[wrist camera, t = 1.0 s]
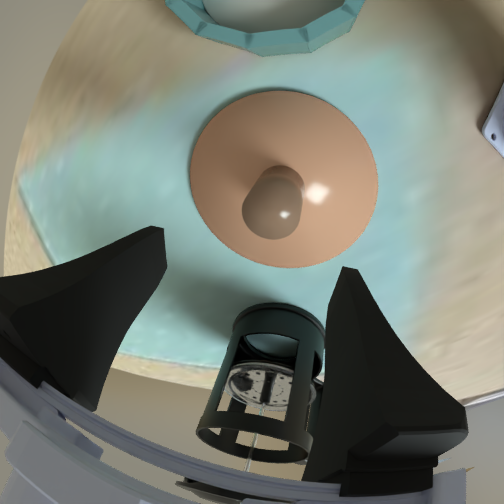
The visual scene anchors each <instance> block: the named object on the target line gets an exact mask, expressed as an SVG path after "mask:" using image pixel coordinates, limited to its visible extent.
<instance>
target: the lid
mask: <svg viewBox="0 0 504 504" xmlns="http://www.w3.org/2000/svg"><path fill="white" fill-rule="evenodd" d="M190 183H191V189H192V194H193V198H194V201H195V204H196V207H197V209H198V211H199V213H200V215H201V217H202V219H203V220H204V222H205V224H206V225H207V226H208V228H209V229H210V230H211V232H212V233H213V234H214V235H215V236H216V237H217V238H218V239H219V240H220V241H221V242H222V243H224V244H225V245H226V246H227V247H228V248H230V249H231V250H233V251H234V252H236V253H237V254H239V255H241V256H243V257H245V258H247V259H249V260H252V261H254V262H257V263H260V264H264V265H268V266H273V267H280V268H300V267H307V266H312V265H316V264H319V263H322V262H325V261H327V260H330V259H332V258H333V257H335V256H337V255H339V254H341V253H342V252H343V251H345V250H346V249H347V248H349V247H350V246H351V245H352V244H353V243H354V242H355V241H356V240H357V239H358V238H359V237H360V235H361V234H362V233H363V232H364V230H365V228H366V227H367V225H368V223H369V221H370V219H371V217H372V214H373V212H374V209H375V205H376V201H377V194H378V174H377V169H376V163H375V160H374V157H373V154H372V151H371V149H370V147H369V145H368V143H367V141H366V139H365V138H364V136H363V135H362V133H361V132H360V131H359V129H358V128H357V127H356V126H355V125H354V124H353V122H352V121H351V120H350V119H349V118H348V117H347V116H345V115H344V114H343V113H342V112H341V111H339V110H338V109H337V108H335V107H333V106H332V105H330V104H328V103H327V102H325V101H323V100H320V99H318V98H316V97H313V96H310V95H307V94H303V93H299V92H291V91H267V92H261V93H256V94H253V95H249V96H246V97H243V98H241V99H239V100H237V101H235V102H233V103H231V104H230V105H228V106H227V107H225V108H224V109H222V110H221V111H220V112H219V113H218V114H217V115H216V116H215V117H213V118H212V119H211V121H210V122H209V123H208V124H207V126H206V127H205V128H204V130H203V131H202V133H201V135H200V137H199V138H198V141H197V143H196V146H195V148H194V151H193V155H192V159H191V167H190Z"/></svg>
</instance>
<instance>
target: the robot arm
mask: <svg viewBox="0 0 504 504" xmlns="http://www.w3.org/2000/svg"><path fill="white" fill-rule="evenodd" d="M482 134H483V136H484V137H485V138H486V139H487V140H488V141H489V142H490V143H491V145H492V146H493V147H494V148H495V149H496V150H497V151H498V152H499V153H500V154H501V156H502V157H503V158H504V83H503V85H502V87H501V90H500V92H499V94H498V96H497V99H496V101H495V103H494V105H493V107H492V109H491V111H490V113H489V115H488V117H487V119H486V121H485V123H484V125H483V127H482ZM492 134H493V135H494V137H493V139H491V135H492ZM166 269H167V260H166V250H165V240H164V228H160V227H155V226H149V227H146V228H143V229H141V230H139V231H136V232H134V233H132V234H130V235H128V236H126V237H124V238H121V239H119V240H117V241H115V242H113V243H111V244H109V245H107V246H105V247H102V248H100V249H98V250H96V251H93V252H91V253H89V254H87V255H84V256H82V257H79V258H77V259H74V260H71V261H69V262H66V263H63V264H60V265H56V266H53V267H50V268H46V269H43V270H39V271H35V272H30V273H25V274H20V275H13V276H5V277H0V429H1V431H2V432H3V433H4V434H5V436H6V437H7V438H8V439H9V440H10V442H9V444H8V445H7V447H6V449H5V457H6V459H7V461H8V462H9V464H11V466H12V467H13V470H12V472H11V475H10V477H9V479H8V481H7V483H6V485H5V487H4V490H3V492H2V494H1V496H0V504H200V503H197V502H193V501H191V500H187V499H184V498H182V497H179V496H176V495H173V494H171V493H168V492H165V491H163V490H160V489H158V488H155V487H153V486H151V485H148V484H146V483H144V482H141V481H139V480H137V479H135V478H133V477H131V476H129V475H127V474H125V473H123V472H121V471H119V470H117V469H115V468H113V467H111V466H109V465H107V464H106V463H104V462H102V461H100V457H101V455H102V453H103V449H102V448H101V447H99V446H98V445H96V444H95V443H93V442H92V441H91V440H89V439H88V438H87V437H85V436H84V435H83V434H82V433H81V432H80V431H78V430H77V429H75V428H74V427H73V426H71V425H70V424H68V423H67V422H66V419H65V417H66V418H67V419H69V420H70V421H72V422H73V423H75V424H76V425H78V426H80V427H81V428H83V429H84V430H86V431H88V432H89V433H91V434H93V435H94V436H96V437H98V438H100V439H102V440H103V441H105V442H107V443H109V444H110V445H112V446H114V447H116V448H118V449H120V450H122V451H124V452H126V453H128V454H130V455H133V456H134V457H137V458H139V459H141V460H143V461H146V462H148V463H150V464H153V465H155V466H157V467H160V468H162V469H165V470H167V471H170V472H173V473H176V474H178V475H181V476H184V477H187V478H190V479H193V480H196V481H199V482H202V483H206V484H209V485H213V486H216V487H220V488H224V489H228V490H232V491H236V492H240V493H245V494H250V495H255V496H260V497H266V498H272V499H279V500H287V501H296V502H293V503H291V504H466V469H465V468H462V469H457V470H452V471H447V472H442V473H438V474H435V475H433V468H434V467H437V465H438V456H439V455H441V454H443V453H445V452H447V451H448V450H450V449H452V448H454V447H455V446H457V445H458V444H460V443H461V442H462V441H463V440H464V439H465V438H466V437H467V435H468V424H467V417H466V411H465V407H464V406H462V405H461V404H460V403H459V402H458V401H457V400H455V399H454V398H453V397H452V396H451V395H450V394H448V393H447V392H446V391H445V390H444V389H443V388H442V387H441V386H440V385H439V384H438V383H437V382H436V381H435V380H434V379H433V378H432V377H431V376H430V375H429V374H428V373H427V372H426V371H425V370H424V369H423V368H422V366H421V365H420V364H419V363H418V362H417V361H416V360H415V358H414V357H413V356H412V355H411V354H410V352H409V351H408V350H407V348H406V347H405V346H404V344H403V343H402V342H401V340H400V339H399V338H398V336H397V335H396V333H395V332H394V331H393V329H392V328H391V326H390V324H389V323H388V321H387V320H386V318H385V317H384V315H383V313H382V312H381V310H380V308H379V307H378V305H377V303H376V302H375V300H374V298H373V296H372V295H371V293H370V291H369V289H368V287H367V285H366V284H365V282H364V280H363V278H362V276H361V274H360V273H359V271H358V270H357V269H353V268H348V267H344V266H342V269H341V272H340V275H339V278H338V280H337V283H336V286H335V289H334V291H333V294H332V296H331V299H330V302H329V304H328V311H327V319H326V327H325V376H324V387H323V393H322V399H321V405H320V411H319V416H318V421H317V425H316V430H315V434H314V438H313V442H312V446H311V450H310V454H309V457H308V461H307V464H306V467H305V471H304V474H303V477H302V480H301V481H297V480H289V479H282V478H276V477H270V476H264V475H259V474H254V473H249V472H245V471H240V470H236V469H232V468H228V467H224V466H221V465H217V464H213V463H210V462H207V461H203V460H200V459H197V458H194V457H191V456H188V455H185V454H182V453H179V452H176V451H174V450H171V449H169V448H166V447H163V446H161V445H158V444H156V443H154V442H151V441H149V440H146V439H144V438H142V437H140V436H137V435H135V434H133V433H131V432H129V431H126V430H125V429H123V428H121V427H118V426H116V425H115V424H113V423H111V422H109V421H107V420H105V419H103V418H101V417H100V416H98V415H96V414H94V413H92V412H93V411H96V409H97V405H98V402H99V398H100V395H101V392H102V388H103V385H104V382H105V380H106V377H107V374H108V372H109V369H110V367H111V364H112V362H113V360H114V357H115V355H116V353H117V351H118V349H119V347H120V345H121V342H122V340H123V339H124V337H125V335H126V333H127V331H128V329H129V328H130V326H131V324H132V323H133V321H134V320H135V318H136V317H137V316H138V314H139V313H140V311H141V310H142V308H143V307H144V305H145V304H146V303H147V301H148V300H149V298H150V297H151V295H152V294H153V293H154V291H155V290H156V288H157V287H158V285H159V283H160V281H161V279H162V277H163V275H164V273H165V271H166ZM240 504H290V503H282V502H272V501H263V500H256V499H249V498H246V499H244V500H243V502H241V503H240Z"/></svg>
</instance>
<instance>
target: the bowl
mask: <svg viewBox="0 0 504 504" xmlns="http://www.w3.org/2000/svg"><path fill="white" fill-rule="evenodd" d="M165 2H166V4H165V5H166V6H168V7H169V8H170V9H171V10H172V11H173V12H174V13H175V14H176V15H177V16H178V17H179V18H180V19H181V20H182V21H183V22H184V23H185V24H186V25H187V26H188V27H189V28H190V29H191V30H192V31H193V32H194V33H195V34H196V35H198V36H201V37H204V38H207V39H210V40H213V41H215V42H218V43H221V44H225V45H229V46H232V47H236V48H239V49H242V50H245V51H248V52H251V53H254V54H257V55H260V56H262V57H266V56H275V55H285V54H298V53H312V52H313V51H315V50H316V49H318V48H320V47H322V46H323V45H325V44H327V43H329V42H330V41H332V40H334V39H336V38H338V37H340V36H342V35H343V34H345V33H347V32H349V31H350V30H351V28H352V26H353V24H354V22H355V20H356V18H357V15H358V13H359V11H360V9H361V7H362V5H363V3H364V2H365V0H165Z"/></svg>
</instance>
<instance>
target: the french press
mask: <svg viewBox="0 0 504 504" xmlns="http://www.w3.org/2000/svg"><path fill="white" fill-rule="evenodd" d="M252 334H275V335H281V336H285V337H289V338H292V339H295V340H297V341H298V348H297V354H296V358H290V359H280V358H274V357H270V356H267V355H264V354H262V353H260V352H258V351H257V350H255V349H254V348H253V347H252V346H251V345H250V344H249V342H248V341H247V339H246V336H247V335H252ZM324 349H325V329H324V327H323V325H322V324H321V323H320V321H319V320H318V319H317V318H315V317H314V316H313V315H312V314H310V313H308V312H307V311H305V310H303V309H300V308H298V307H295V306H291V305H287V304H280V303H264V304H259V305H255V306H252V307H249V308H247V309H246V310H244V311H243V312H241V313H240V314H239V316H238V317H237V318H236V320H235V322H234V324H233V334H232V336H231V339H230V342H229V345H228V347H227V352H226V355H225V358H224V360H223V363H222V366H221V368H220V371H219V374H218V376H217V379H216V382H215V384H214V387H213V390H212V393H211V395H210V398H209V400H208V403H207V406H206V408H205V411H204V414H203V416H202V417H201V419H200V421H199V424H198V427H197V429H196V435H197V436H198V437H199V439H201V440H202V441H203V442H205V443H206V444H208V445H209V446H211V447H213V448H215V449H217V450H220V451H222V452H225V453H227V454H230V455H234V456H237V457H240V458H244V459H247V460H246V464H245V467H244V471H245V472H248V471H249V467H250V463H251V460H253V461H259V462H267V463H296V464H300V465H306V464H307V461H308V457H309V454H310V450H311V446H312V442H313V438H314V434H315V430H316V425H317V421H318V416H319V411H320V405H321V399H322V393H323V387H324V382H322V381H320V380H318V379H317V378H316V377H317V376H318V375H319V373H320V372H321V369H322V364H323V352H324ZM224 390H225V391H226V392H227V393H228V394H229V395H231V396H232V398H231V401H230V404H229V407H228V410H227V411H217V408H218V406H219V403H220V400H221V397H222V394H223V391H224ZM310 404H311V405H310ZM246 405H249V406H253V407H255V408H259V409H260V412H259V415H254V414H249V413H244V412H245V409H246ZM309 409H310V412H309ZM264 410H270V411H286V415H285V420H284V421H280V420H277V419H273V418H269V417H264V416H263V414H264ZM308 416H309V419H308ZM307 422H308V425H307ZM208 428H221V431H220V434H219V435H217V434H215V433H214V432H212V431H211V430H210V429H208ZM306 429H307V431H306ZM239 430H240V431H246V432H252V433H254V435H253V439H252V443H251V446H250V447H249V446H245V445H241V444H238V443H235V442H236V439H237V436H238V433H239ZM258 434H261V435H265V436H270V437H273V438H277V439H281V440H284V441H287V442H289V447H288V450H281V451H279V450H265V449H258V448H255V445H256V442H257V438H258ZM249 473H250V472H249ZM254 474H255V473H254ZM175 485H177V486H179V487H181V488H183V489H186V490H188V491H191V492H193V493H194V494H196V495H197V496H199V497H200V498H203V499H206V500H209V501H212V502H215V503H219V504H240V503H241V502H243V500H244V499H246V498H249V499H256V500H263V501H272V502H282V503H290V504H291V503H293V502H296V501H287V500H279V499H272V498H266V497H260V496H255V495H250V494H245V493H240V492H236V491H232V490H228V489H224V488H220V487H216V486H213V485H209V484H206V483H202V482H199V481H196V480H193V479H190V478H187V477H185V478H184V481H183V482H180V481H176V483H175Z"/></svg>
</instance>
